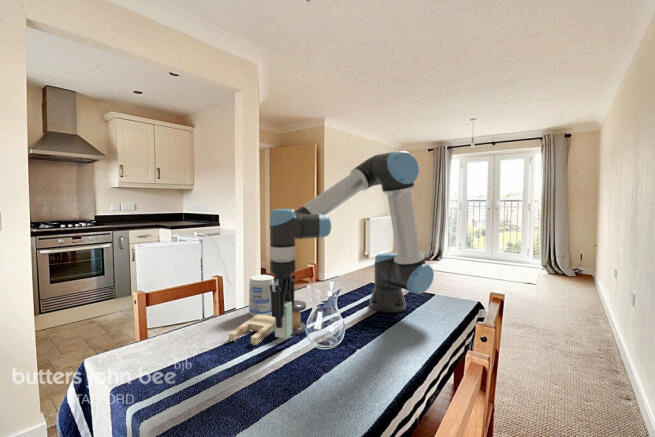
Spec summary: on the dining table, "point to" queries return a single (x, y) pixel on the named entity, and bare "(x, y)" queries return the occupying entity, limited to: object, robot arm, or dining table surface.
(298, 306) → the bobbin
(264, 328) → the notched board
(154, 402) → the dining table surface
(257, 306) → the supplement tub
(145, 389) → the dining table surface
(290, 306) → the peg
